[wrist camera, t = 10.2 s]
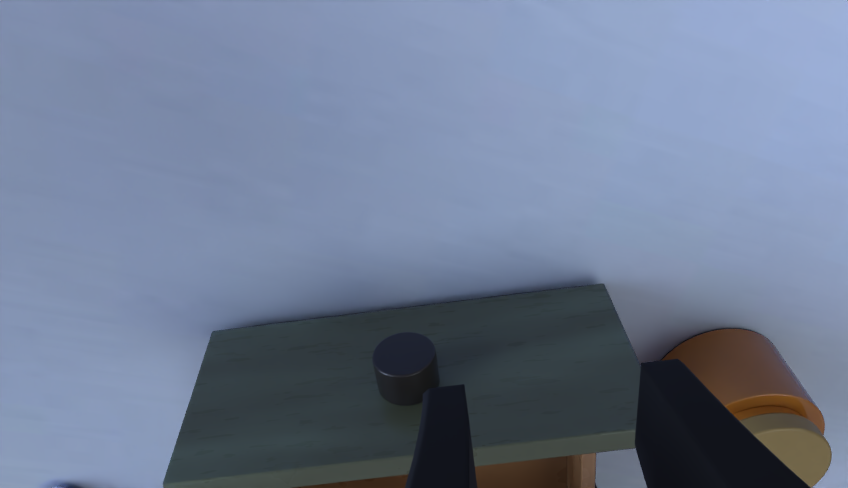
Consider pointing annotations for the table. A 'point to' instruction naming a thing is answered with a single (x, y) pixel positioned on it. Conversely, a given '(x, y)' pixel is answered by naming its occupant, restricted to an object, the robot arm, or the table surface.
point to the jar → (761, 396)
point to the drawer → (413, 394)
